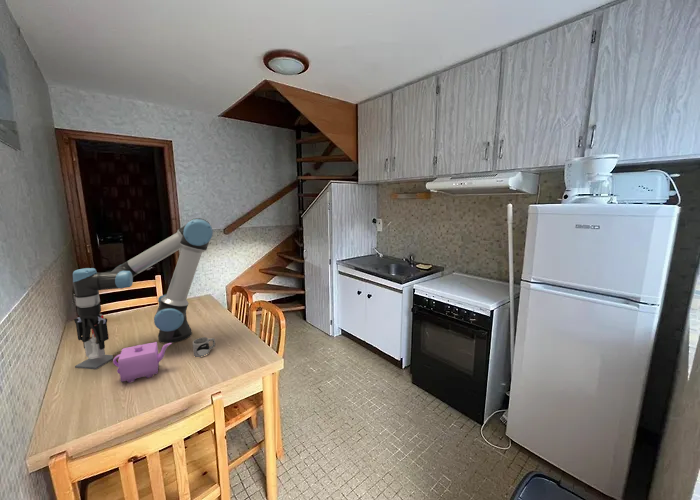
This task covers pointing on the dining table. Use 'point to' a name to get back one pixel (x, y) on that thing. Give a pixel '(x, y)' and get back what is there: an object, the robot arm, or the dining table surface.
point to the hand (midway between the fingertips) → (95, 355)
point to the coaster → (95, 362)
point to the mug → (202, 346)
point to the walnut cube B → (116, 355)
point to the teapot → (139, 361)
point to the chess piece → (94, 353)
